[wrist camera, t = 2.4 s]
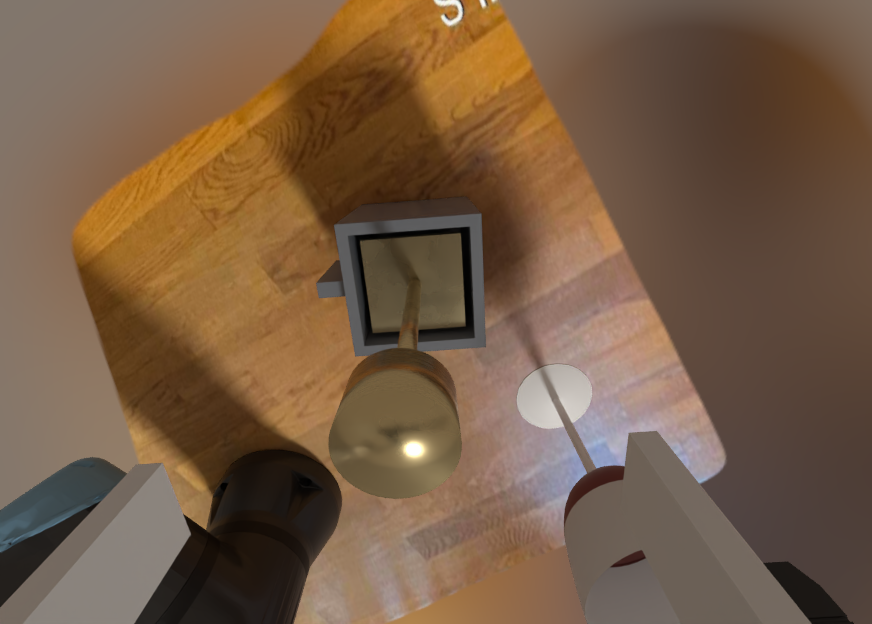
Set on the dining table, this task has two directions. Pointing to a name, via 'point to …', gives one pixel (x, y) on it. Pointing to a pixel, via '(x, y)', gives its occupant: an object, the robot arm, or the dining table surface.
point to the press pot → (399, 222)
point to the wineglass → (595, 513)
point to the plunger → (403, 372)
